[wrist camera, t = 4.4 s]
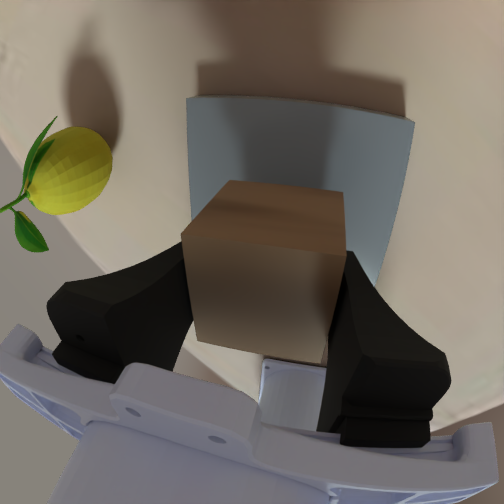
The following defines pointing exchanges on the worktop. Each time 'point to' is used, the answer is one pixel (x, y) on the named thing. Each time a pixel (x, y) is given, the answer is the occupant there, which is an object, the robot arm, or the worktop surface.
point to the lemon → (61, 178)
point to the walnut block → (266, 268)
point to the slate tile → (304, 158)
